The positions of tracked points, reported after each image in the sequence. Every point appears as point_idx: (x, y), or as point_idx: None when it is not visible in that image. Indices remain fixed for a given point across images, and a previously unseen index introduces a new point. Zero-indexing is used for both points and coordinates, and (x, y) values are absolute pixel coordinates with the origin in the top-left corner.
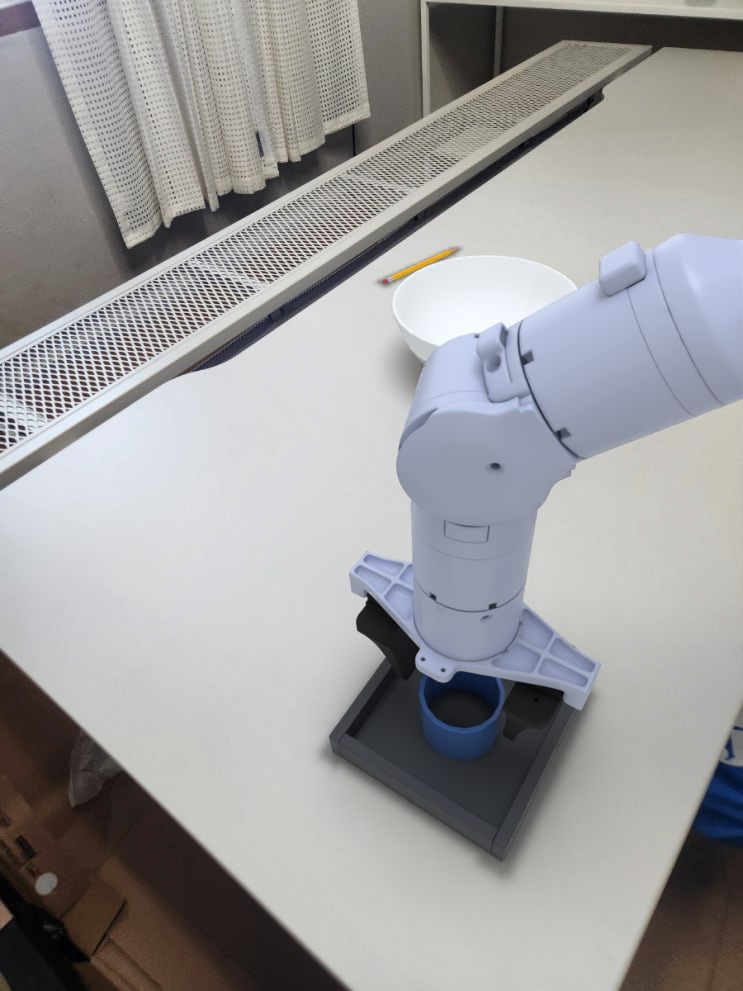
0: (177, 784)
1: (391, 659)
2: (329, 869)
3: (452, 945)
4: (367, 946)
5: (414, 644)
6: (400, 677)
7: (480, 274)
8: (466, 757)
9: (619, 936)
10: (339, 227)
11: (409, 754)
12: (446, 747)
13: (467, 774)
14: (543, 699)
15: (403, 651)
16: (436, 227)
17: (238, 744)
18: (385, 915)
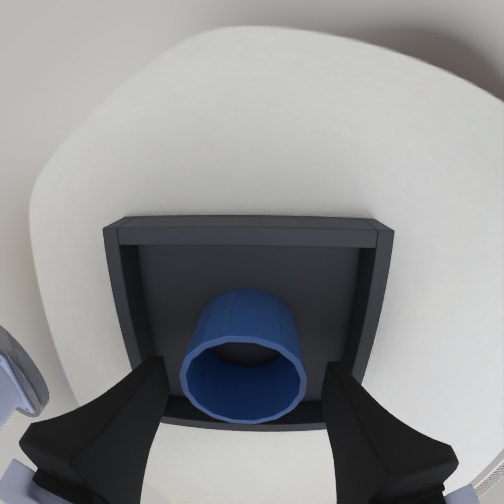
0: (483, 107)
1: (362, 401)
2: (295, 91)
3: (129, 114)
4: (206, 55)
5: (335, 425)
6: (338, 362)
7: None
8: (212, 301)
9: (34, 223)
10: None
11: (282, 268)
12: (234, 303)
13: (203, 283)
14: (49, 470)
15: (347, 423)
16: None
17: (465, 171)
18: (205, 89)
